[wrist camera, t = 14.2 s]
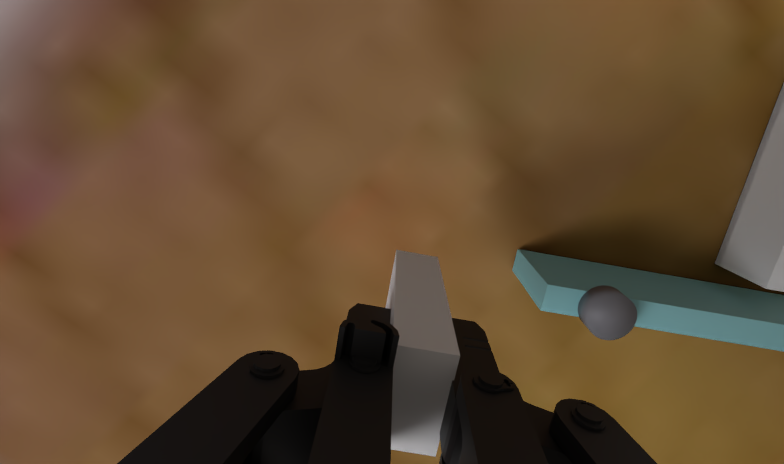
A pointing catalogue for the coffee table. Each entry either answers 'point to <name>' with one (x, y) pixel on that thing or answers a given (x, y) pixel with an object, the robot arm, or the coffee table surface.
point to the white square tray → (760, 213)
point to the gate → (650, 301)
